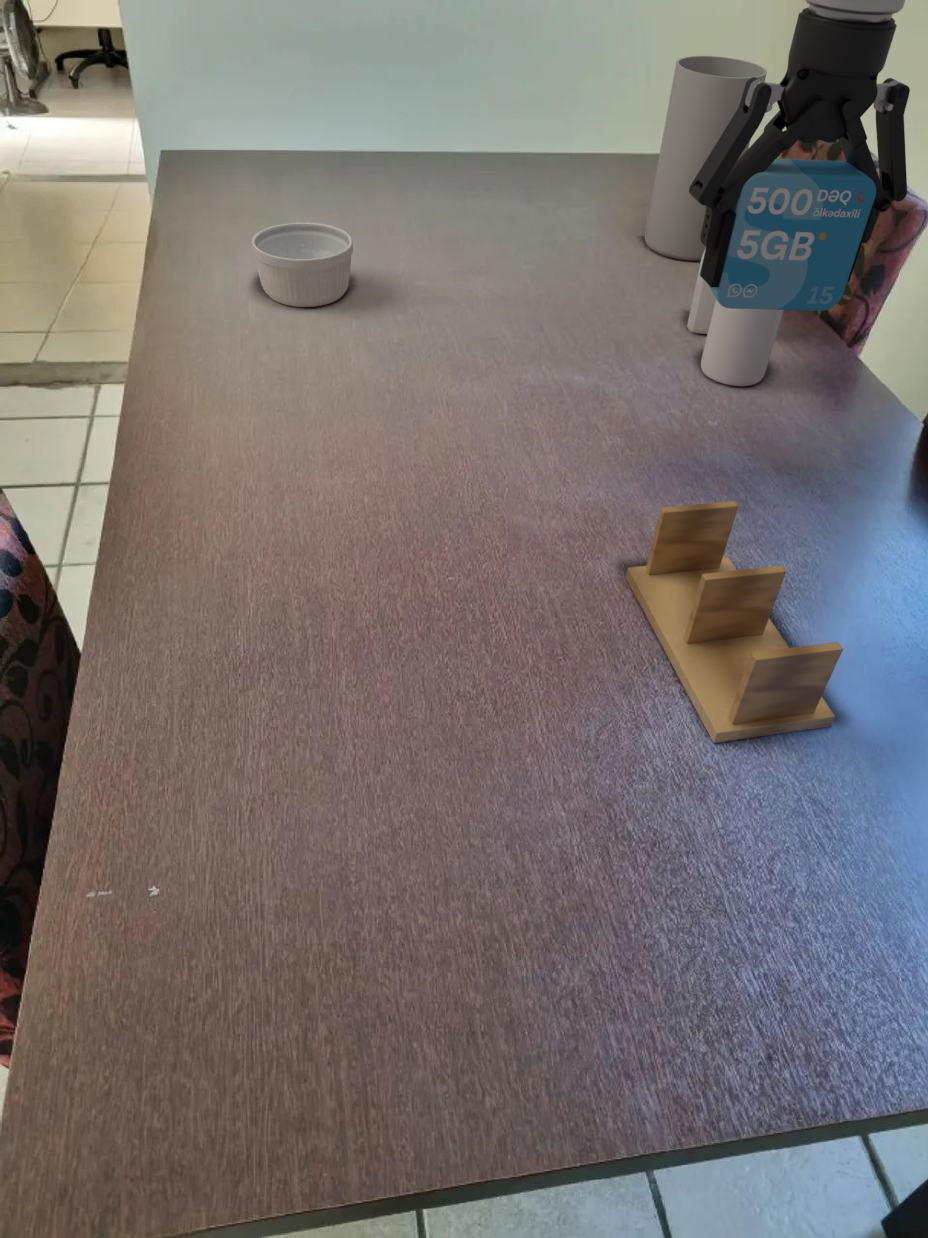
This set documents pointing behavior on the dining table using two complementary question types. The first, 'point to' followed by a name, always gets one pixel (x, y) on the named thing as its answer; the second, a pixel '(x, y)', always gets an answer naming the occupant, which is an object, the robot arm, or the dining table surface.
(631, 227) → the dining table surface
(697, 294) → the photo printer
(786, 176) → the data package
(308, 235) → the ramekin
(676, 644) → the slot rack
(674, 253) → the cylinder vase
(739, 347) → the pill bottle
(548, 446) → the dining table surface
